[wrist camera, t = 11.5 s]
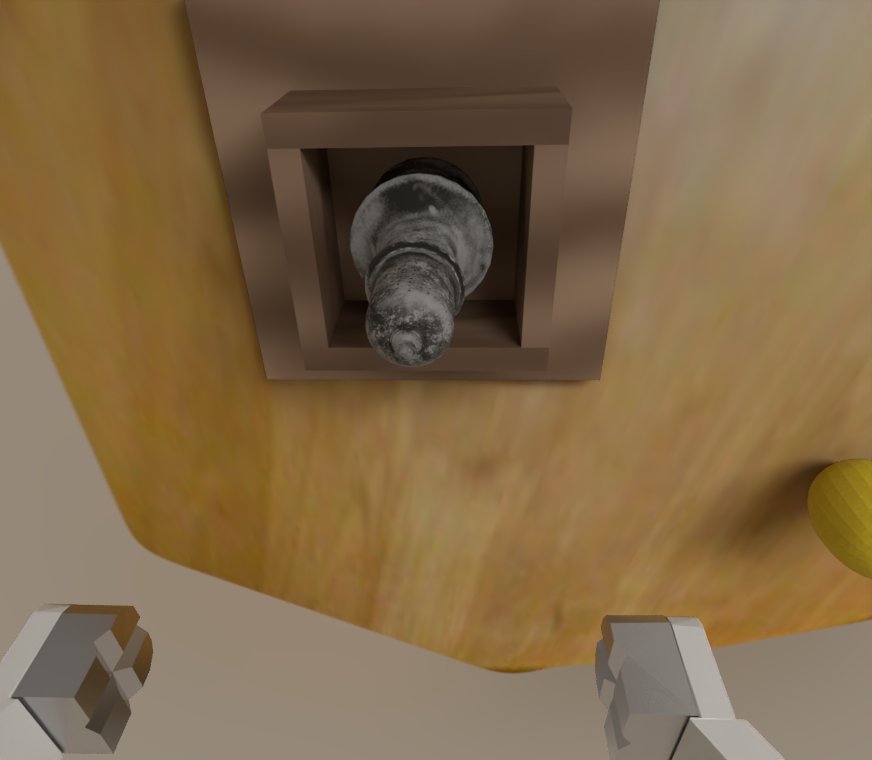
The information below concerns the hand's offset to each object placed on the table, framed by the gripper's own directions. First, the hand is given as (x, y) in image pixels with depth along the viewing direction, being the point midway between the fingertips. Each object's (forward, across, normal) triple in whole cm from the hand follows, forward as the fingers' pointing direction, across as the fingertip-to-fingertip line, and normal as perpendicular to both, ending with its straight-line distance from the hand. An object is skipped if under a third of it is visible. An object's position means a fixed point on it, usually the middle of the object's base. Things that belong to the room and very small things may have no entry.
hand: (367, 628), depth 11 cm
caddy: (+22, 0, 0) cm, 22 cm away
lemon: (+22, -24, +16) cm, 36 cm away
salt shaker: (+21, 0, 0) cm, 21 cm away
